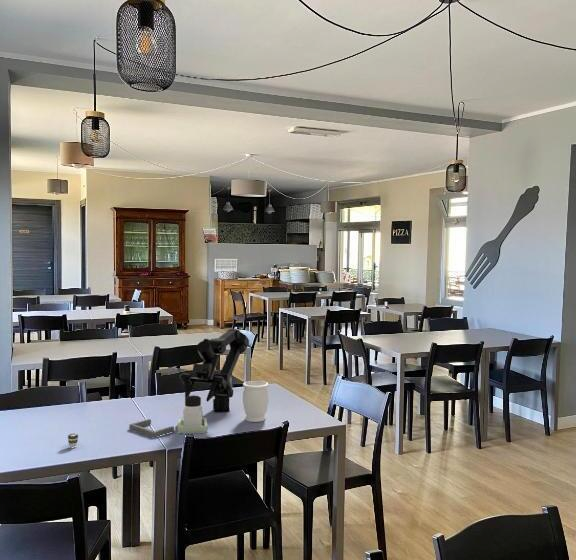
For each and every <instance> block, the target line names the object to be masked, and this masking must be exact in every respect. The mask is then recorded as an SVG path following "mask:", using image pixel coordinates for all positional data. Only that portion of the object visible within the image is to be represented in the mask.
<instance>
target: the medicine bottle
mask: <svg viewBox="0 0 576 560" xmlns="http://www.w3.org/2000/svg"><path fill="white" fill-rule="evenodd" d="M184 400H185V401H184V406H183V418H182V419H183V426H202V418H203V406H202V397H201V396H199V395H196V394H194V395H193V394H190V395H189V396H187V397H186V398H185V397H184Z"/></svg>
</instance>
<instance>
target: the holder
mask: <svg viewBox="0 0 576 560" xmlns="http://www.w3.org/2000/svg"><path fill="white" fill-rule="evenodd" d="M150 424H151V425H152V419H151V418H148V419H145V420H141V421H137V422H132V423H129V426H128V427H129V430H130V429H131V430H130V431H132V430H134V431H133V432H135V431H136V433H138V432H139V433H138V434H141V433H142V434H141V435H144V436H147V435H148V436H147V437H150V436H151V437H150V438H152V437H154V438H153V439H156V438H155V437H157V436H160V435H163V434H166V435H168V434H167V433H170V432H173V433H175V426H169V427H164V428H161V429H158V430H152V429H149V428H147V425H148V426H150ZM143 426H144V427H143ZM170 434H171V433H170ZM163 436H164V435H163ZM160 437H161V436H160ZM157 438H158V437H157Z"/></svg>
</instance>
